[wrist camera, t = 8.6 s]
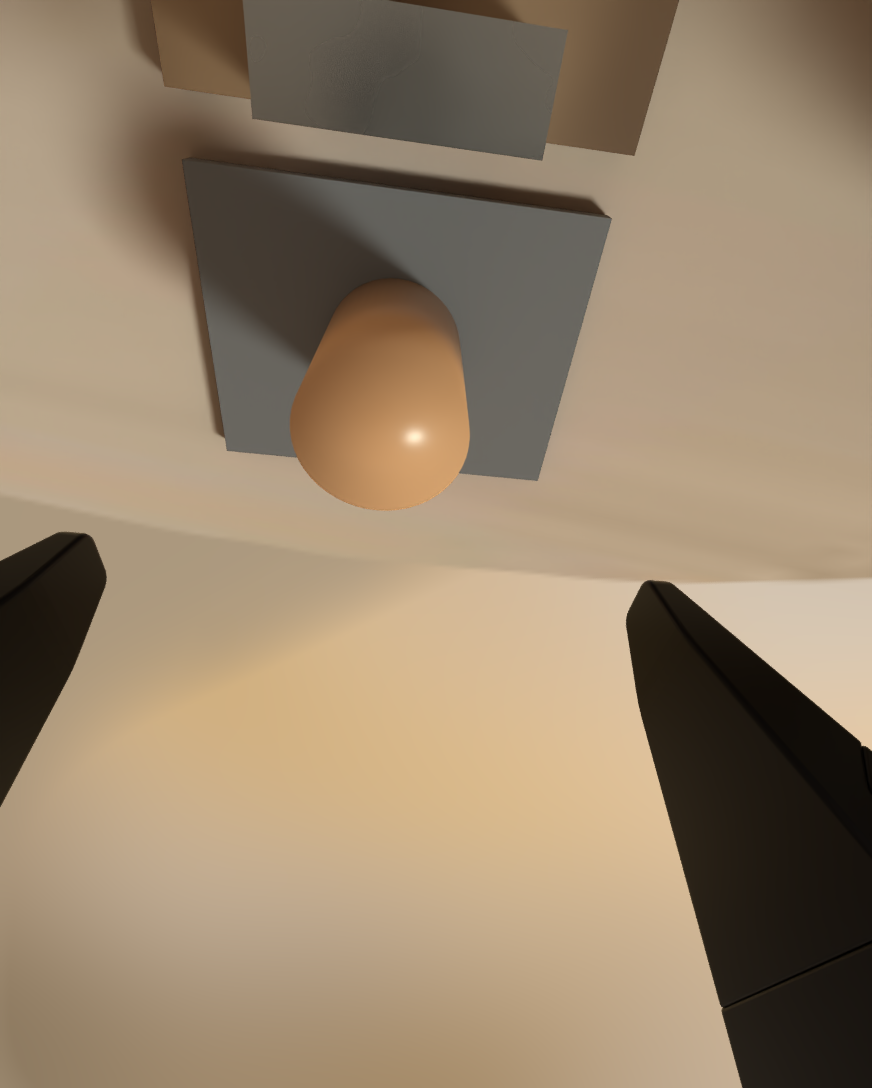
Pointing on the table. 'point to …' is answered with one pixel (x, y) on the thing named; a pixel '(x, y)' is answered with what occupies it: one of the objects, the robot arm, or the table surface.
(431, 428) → the orange-tan rounded capsule
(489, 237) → the pad
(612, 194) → the table surface
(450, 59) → the clamp jaws
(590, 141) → the board
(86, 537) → the robot arm
